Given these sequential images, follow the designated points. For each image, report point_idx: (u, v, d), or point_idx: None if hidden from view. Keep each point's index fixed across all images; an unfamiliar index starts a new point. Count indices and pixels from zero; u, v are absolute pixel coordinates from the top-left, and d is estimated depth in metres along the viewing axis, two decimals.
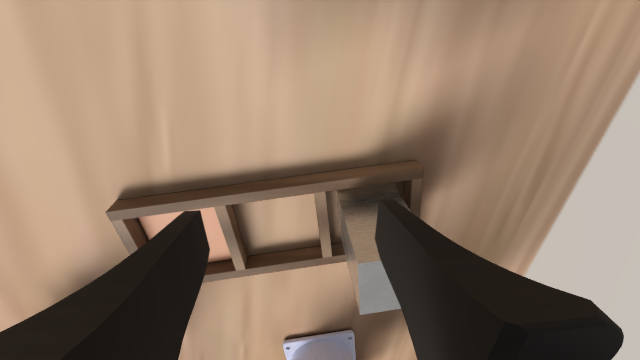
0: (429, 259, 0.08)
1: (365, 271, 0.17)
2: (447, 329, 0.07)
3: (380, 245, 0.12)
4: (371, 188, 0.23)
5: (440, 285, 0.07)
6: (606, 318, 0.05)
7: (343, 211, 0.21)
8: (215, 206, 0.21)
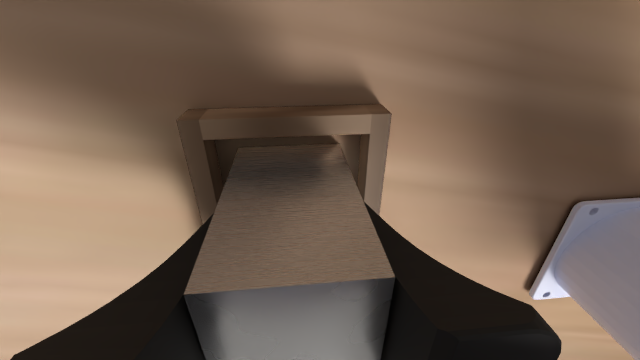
0: None
1: None
2: (398, 334, 0.07)
3: None
4: None
5: (393, 289, 0.07)
6: (542, 324, 0.05)
7: None
8: None
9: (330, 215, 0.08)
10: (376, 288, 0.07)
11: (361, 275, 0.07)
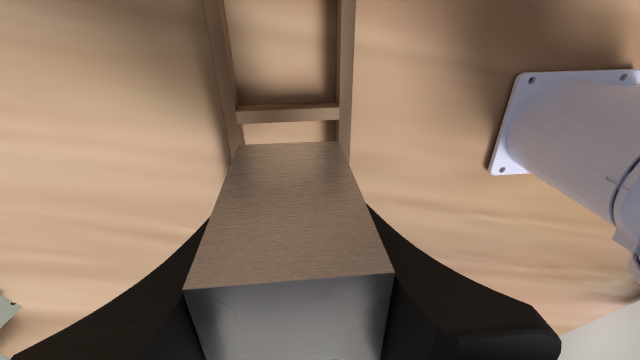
0: None
1: None
2: (398, 334, 0.07)
3: None
4: None
5: (393, 289, 0.07)
6: (542, 325, 0.05)
7: None
8: None
9: (330, 212, 0.08)
10: (376, 284, 0.07)
11: (361, 269, 0.06)
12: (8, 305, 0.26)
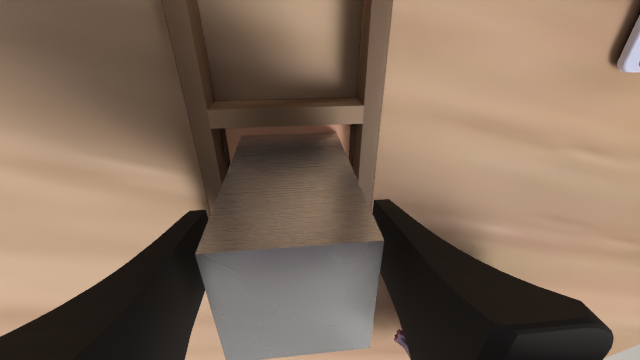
0: (422, 259, 0.08)
1: (247, 352, 0.09)
2: (439, 330, 0.07)
3: None
4: None
5: (432, 286, 0.07)
6: (595, 319, 0.05)
7: None
8: (209, 126, 0.12)
9: (327, 192, 0.09)
10: (367, 251, 0.07)
11: (353, 238, 0.07)
12: None
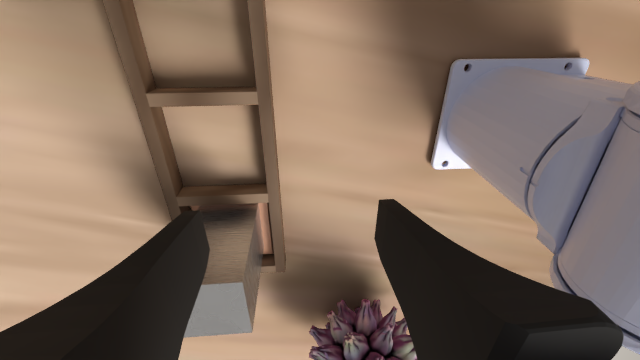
0: (429, 259, 0.08)
1: (188, 332, 0.18)
2: (447, 329, 0.07)
3: (380, 244, 0.12)
4: None
5: (440, 285, 0.07)
6: (606, 318, 0.05)
7: None
8: (178, 205, 0.21)
9: (230, 252, 0.18)
10: (236, 286, 0.16)
11: (229, 281, 0.16)
12: None
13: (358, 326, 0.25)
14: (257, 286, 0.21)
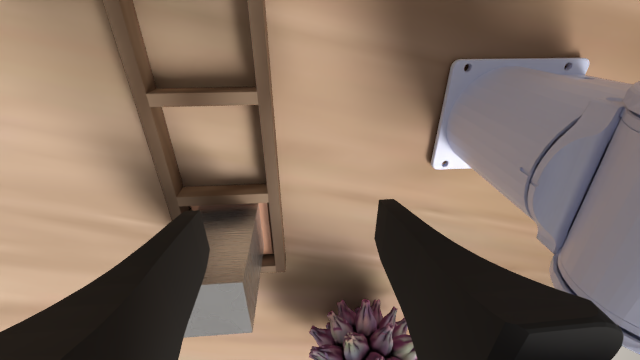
0: (429, 259, 0.08)
1: (188, 332, 0.18)
2: (447, 329, 0.07)
3: (380, 245, 0.12)
4: None
5: (440, 285, 0.07)
6: (606, 318, 0.05)
7: None
8: (178, 205, 0.21)
9: (230, 252, 0.18)
10: (236, 286, 0.16)
11: (229, 281, 0.16)
12: None
13: (358, 326, 0.25)
14: (257, 286, 0.21)
